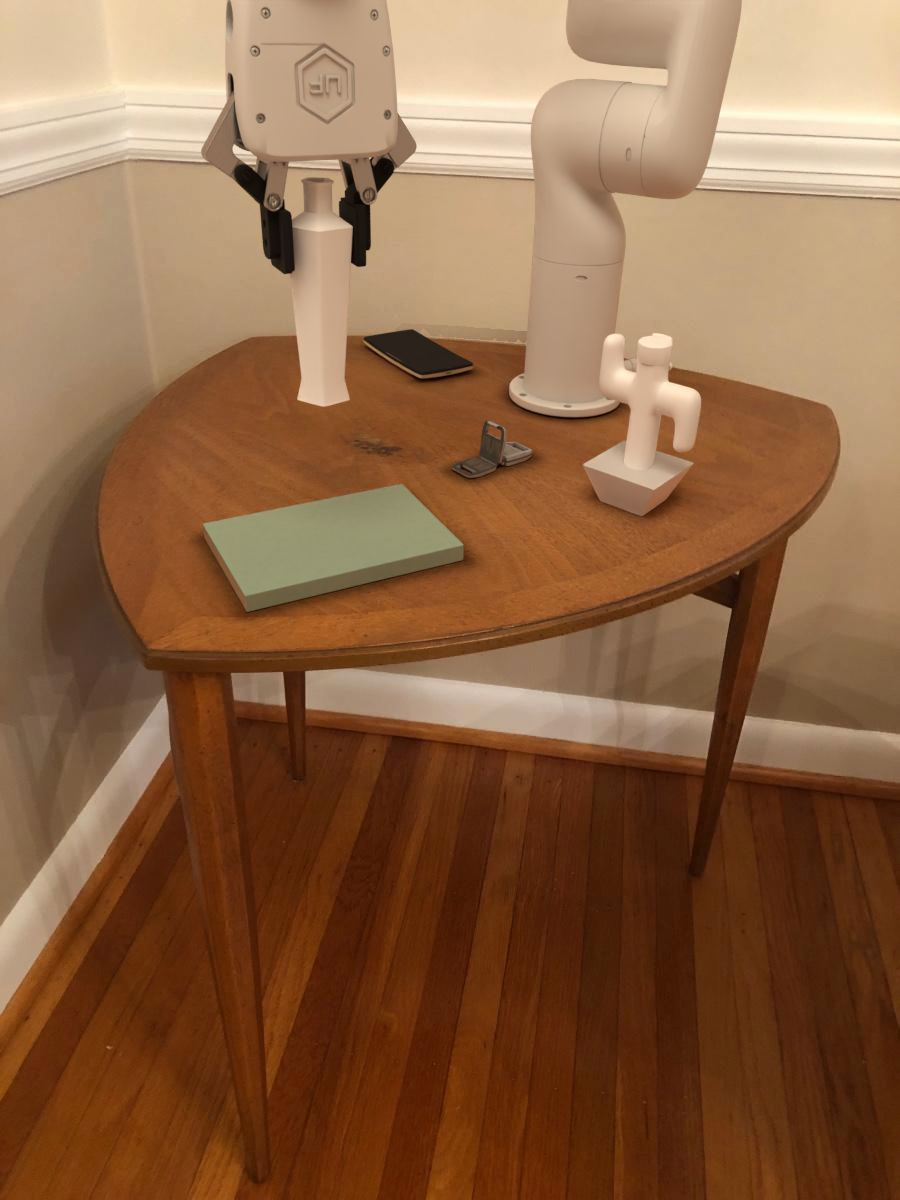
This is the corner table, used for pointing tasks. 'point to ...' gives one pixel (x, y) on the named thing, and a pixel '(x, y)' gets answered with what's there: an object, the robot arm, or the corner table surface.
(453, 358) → the smartphone
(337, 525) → the tile slab
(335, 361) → the white faceted vase
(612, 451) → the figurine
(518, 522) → the corner table surface
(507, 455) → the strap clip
